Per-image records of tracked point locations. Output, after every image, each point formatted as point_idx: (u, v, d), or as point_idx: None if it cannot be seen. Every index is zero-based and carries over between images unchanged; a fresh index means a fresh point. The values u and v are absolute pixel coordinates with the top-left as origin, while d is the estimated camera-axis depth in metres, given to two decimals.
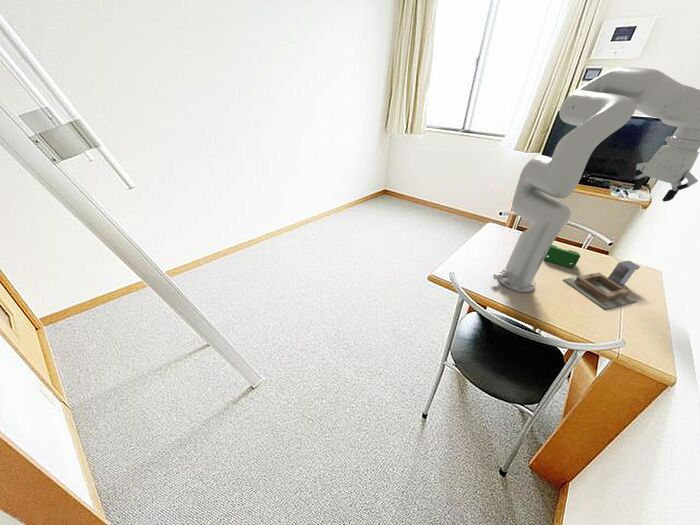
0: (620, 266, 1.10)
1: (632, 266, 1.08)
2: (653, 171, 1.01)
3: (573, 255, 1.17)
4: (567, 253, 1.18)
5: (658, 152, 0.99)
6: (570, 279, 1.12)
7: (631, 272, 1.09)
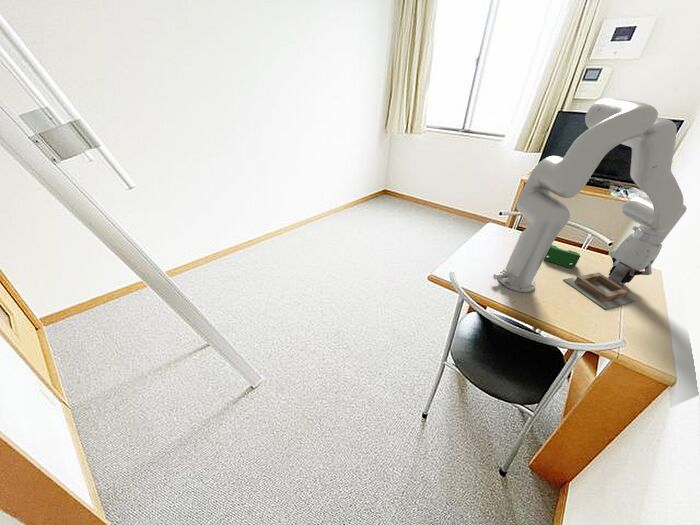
0: (620, 266, 1.10)
1: None
2: (622, 256, 1.08)
3: (573, 256, 1.17)
4: (567, 253, 1.18)
5: (626, 240, 1.06)
6: (570, 279, 1.12)
7: None
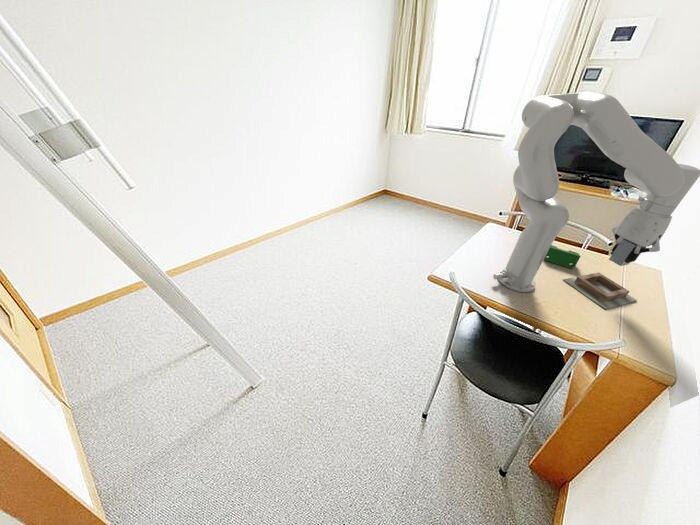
0: (623, 243, 0.97)
1: None
2: (626, 232, 0.96)
3: (573, 256, 1.17)
4: (567, 254, 1.18)
5: (630, 213, 0.94)
6: (570, 279, 1.12)
7: None
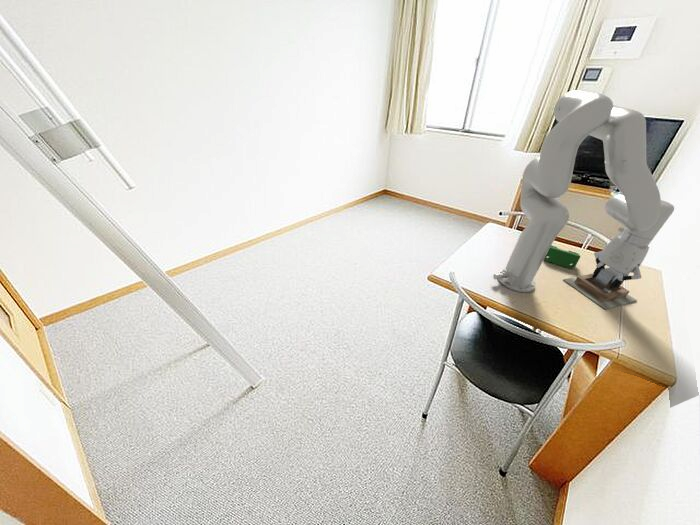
0: (603, 273, 1.04)
1: (615, 273, 1.03)
2: (607, 259, 1.02)
3: (573, 256, 1.17)
4: (567, 254, 1.18)
5: (611, 242, 1.00)
6: (570, 279, 1.12)
7: (614, 279, 1.03)
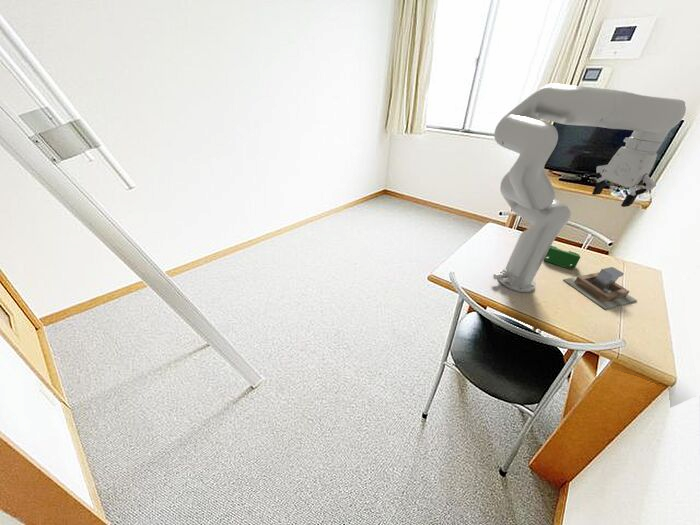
0: (603, 273, 1.04)
1: (615, 273, 1.03)
2: (612, 174, 0.95)
3: (573, 257, 1.17)
4: (567, 254, 1.17)
5: (616, 154, 0.93)
6: (570, 279, 1.12)
7: (614, 279, 1.03)
